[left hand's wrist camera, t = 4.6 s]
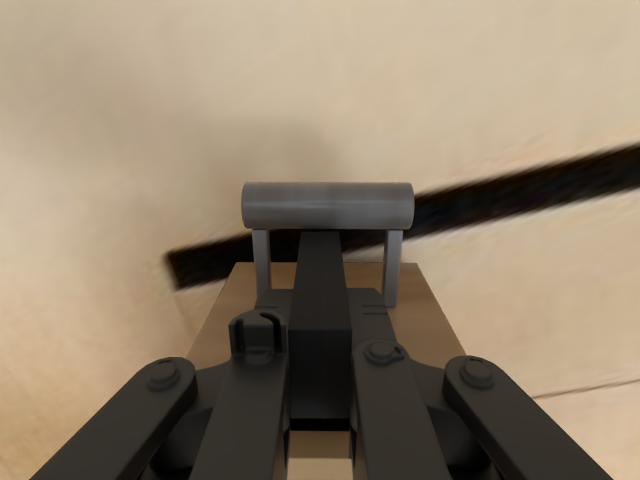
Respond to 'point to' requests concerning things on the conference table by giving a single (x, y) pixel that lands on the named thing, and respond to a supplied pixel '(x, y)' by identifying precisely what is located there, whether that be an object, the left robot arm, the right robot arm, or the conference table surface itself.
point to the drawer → (387, 278)
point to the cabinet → (319, 456)
